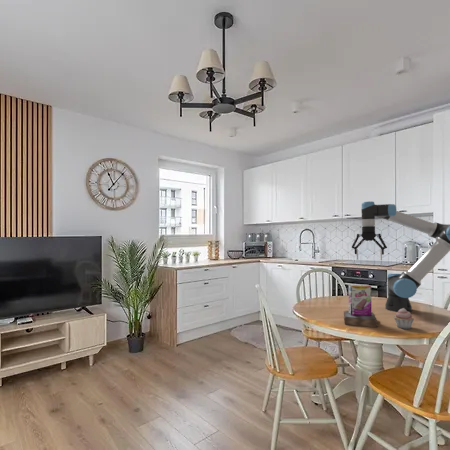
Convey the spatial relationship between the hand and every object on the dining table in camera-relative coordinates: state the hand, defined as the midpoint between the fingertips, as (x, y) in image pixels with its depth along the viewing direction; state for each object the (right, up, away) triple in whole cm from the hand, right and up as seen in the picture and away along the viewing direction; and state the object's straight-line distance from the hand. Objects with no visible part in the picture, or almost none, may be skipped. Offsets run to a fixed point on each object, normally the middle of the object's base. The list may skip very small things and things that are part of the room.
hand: (369, 259), depth 196 cm
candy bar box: (-16, -28, -23) cm, 40 cm away
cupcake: (+2, -32, -34) cm, 46 cm away
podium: (-16, -32, -23) cm, 43 cm away
